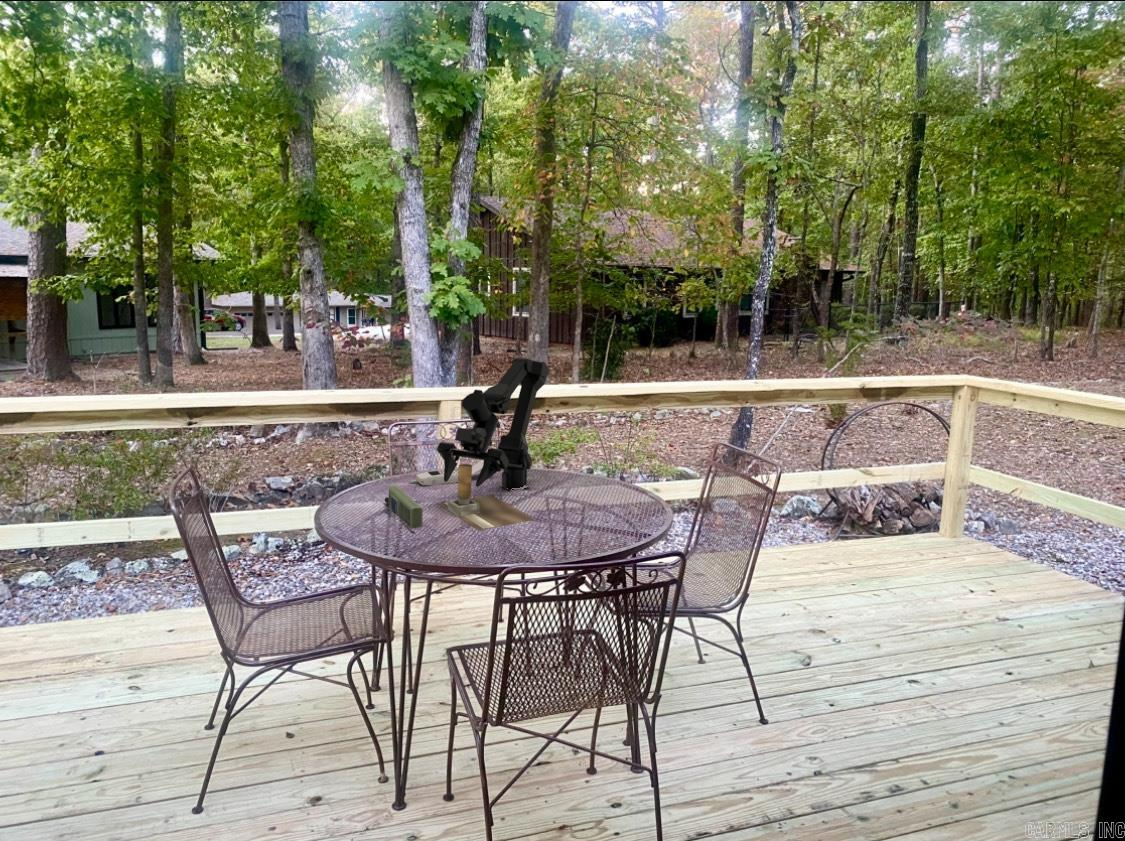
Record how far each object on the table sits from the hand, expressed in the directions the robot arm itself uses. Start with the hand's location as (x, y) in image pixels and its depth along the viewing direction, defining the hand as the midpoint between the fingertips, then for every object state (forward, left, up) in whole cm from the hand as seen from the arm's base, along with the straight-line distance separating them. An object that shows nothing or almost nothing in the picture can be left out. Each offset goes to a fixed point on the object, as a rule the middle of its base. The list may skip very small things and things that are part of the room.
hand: (460, 483), depth 185 cm
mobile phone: (-13, -32, -10) cm, 36 cm away
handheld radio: (+13, -9, -10) cm, 18 cm away
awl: (-1, -1, -8) cm, 8 cm away
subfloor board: (-6, +2, -9) cm, 11 cm away
